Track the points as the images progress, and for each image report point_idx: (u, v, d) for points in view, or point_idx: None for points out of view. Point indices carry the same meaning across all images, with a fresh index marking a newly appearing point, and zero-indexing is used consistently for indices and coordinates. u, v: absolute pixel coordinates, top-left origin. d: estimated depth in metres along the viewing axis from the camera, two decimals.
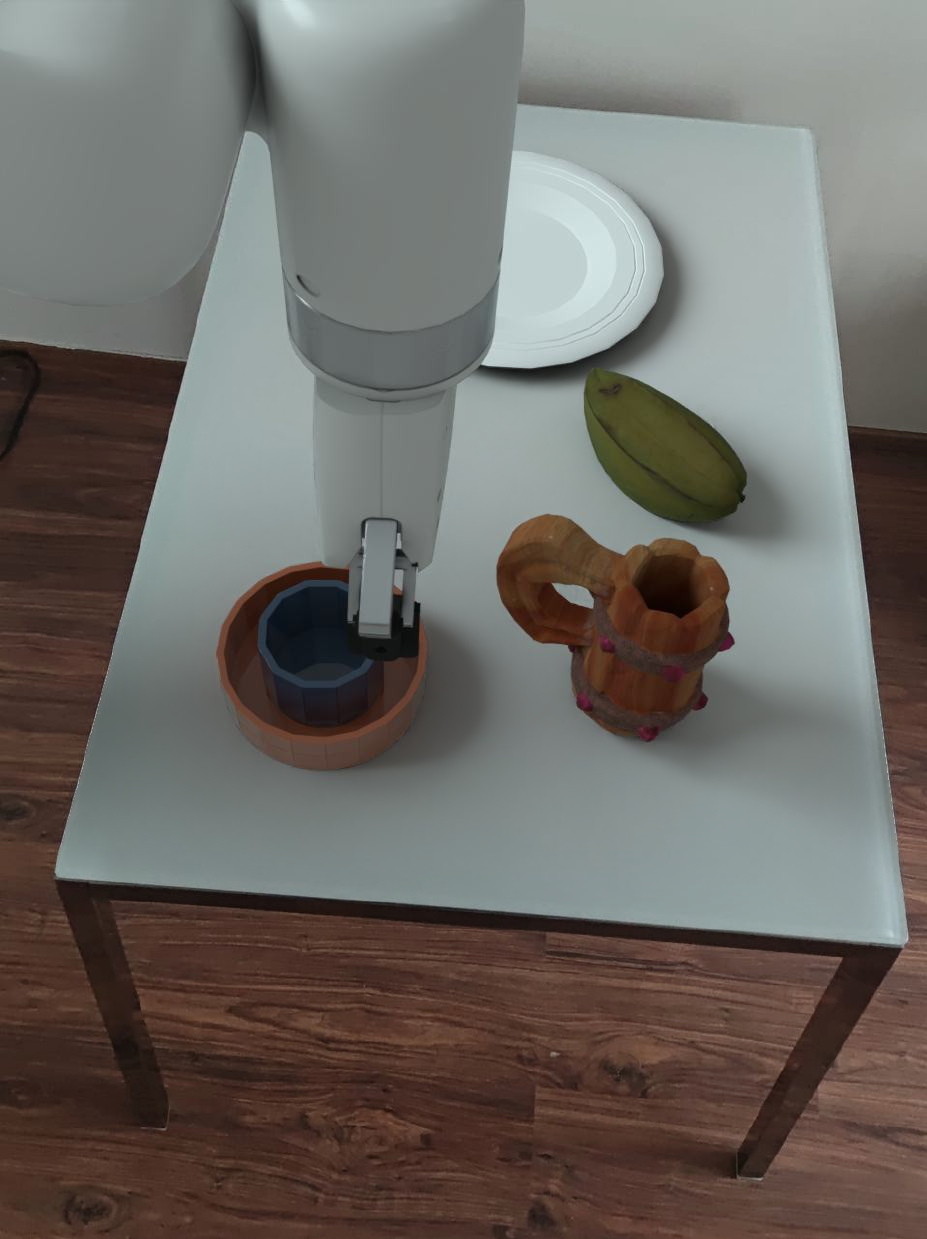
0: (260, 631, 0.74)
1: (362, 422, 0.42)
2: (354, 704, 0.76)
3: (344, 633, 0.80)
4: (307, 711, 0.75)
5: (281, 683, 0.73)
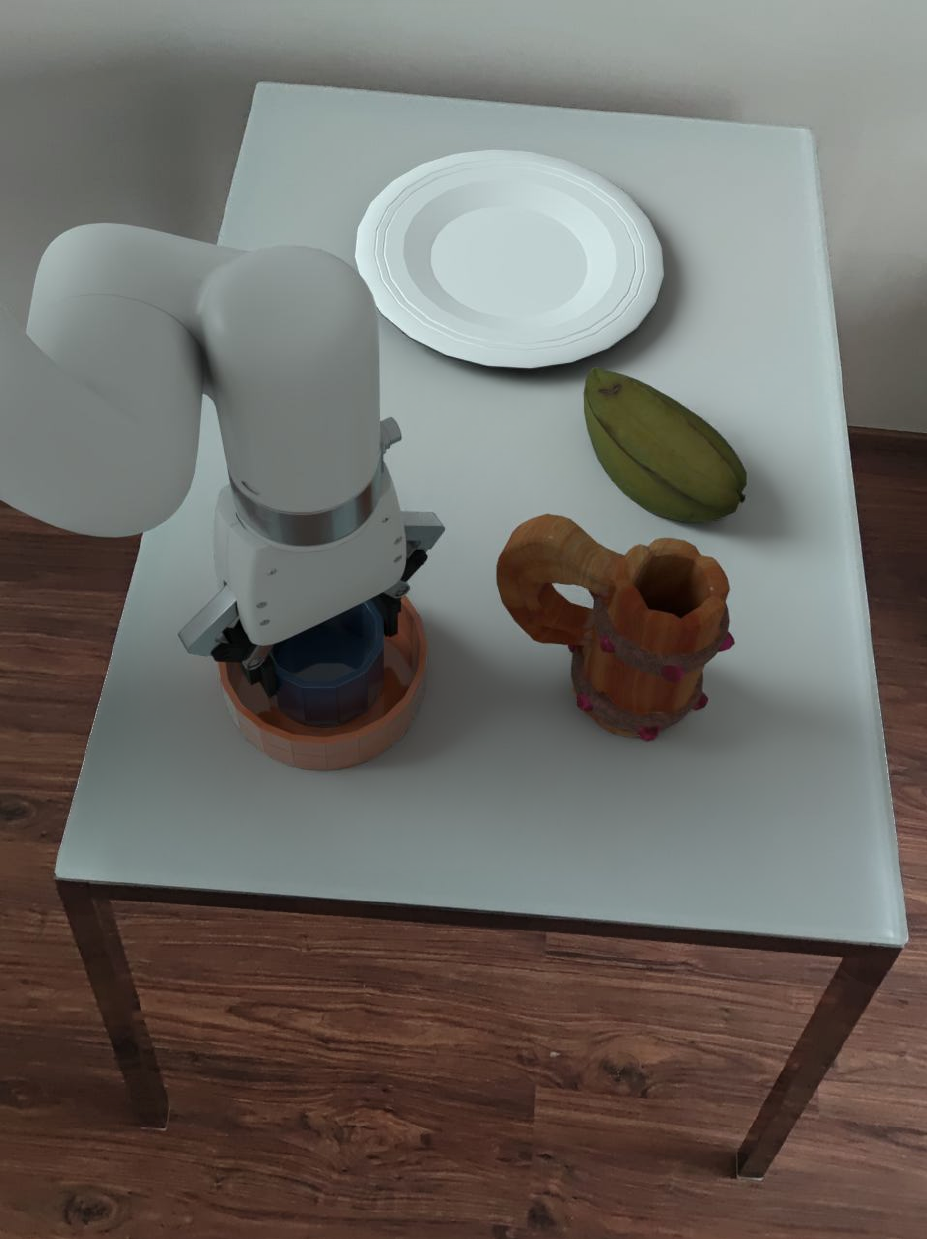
0: None
1: (221, 521, 0.61)
2: (354, 704, 0.76)
3: (344, 633, 0.80)
4: (307, 711, 0.75)
5: (281, 683, 0.73)
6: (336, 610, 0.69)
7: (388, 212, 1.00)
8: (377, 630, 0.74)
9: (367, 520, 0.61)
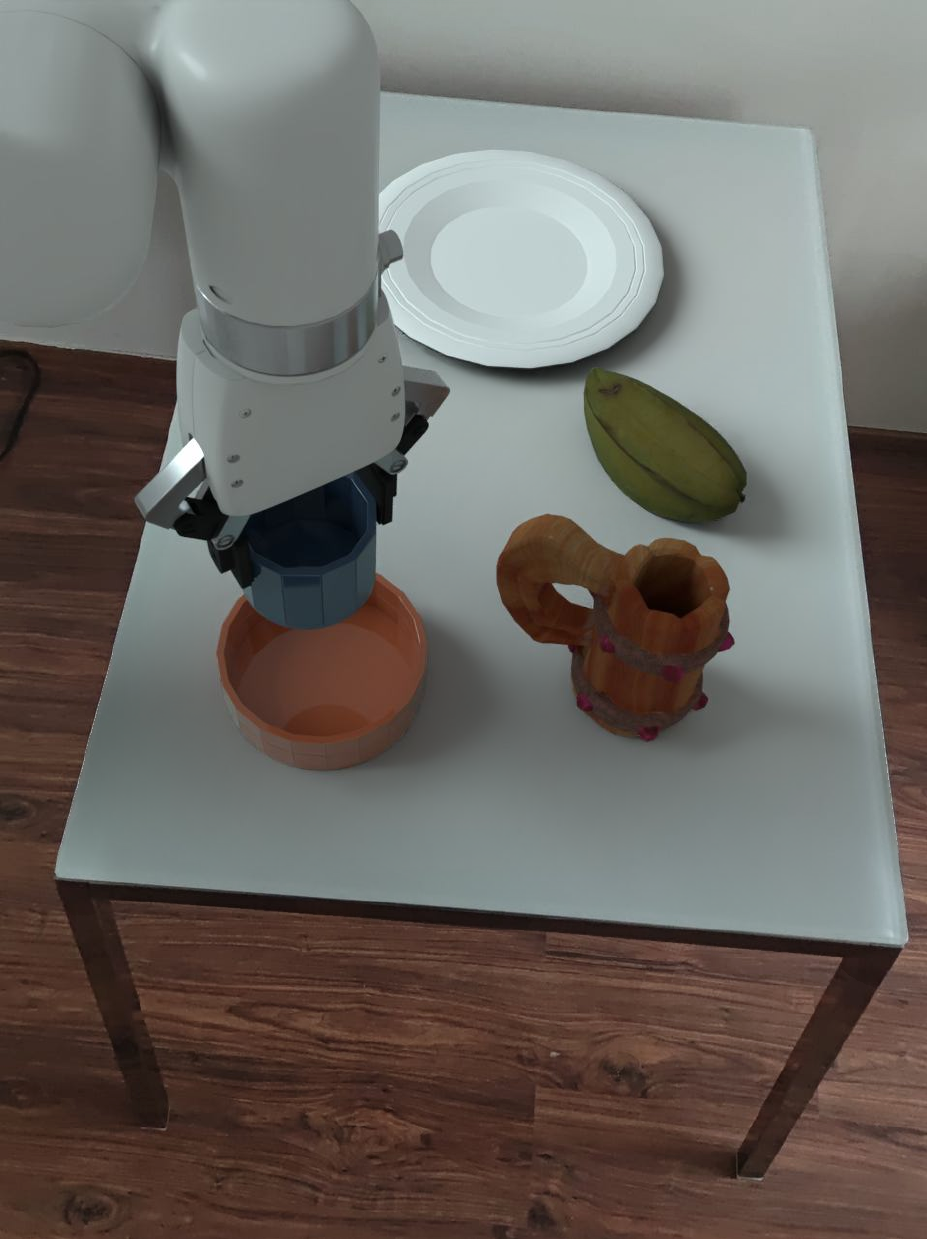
0: None
1: (185, 350, 0.51)
2: (341, 601, 0.65)
3: (330, 526, 0.70)
4: (287, 607, 0.65)
5: (257, 572, 0.63)
6: (322, 478, 0.58)
7: (388, 212, 1.00)
8: (368, 515, 0.64)
9: (362, 350, 0.51)
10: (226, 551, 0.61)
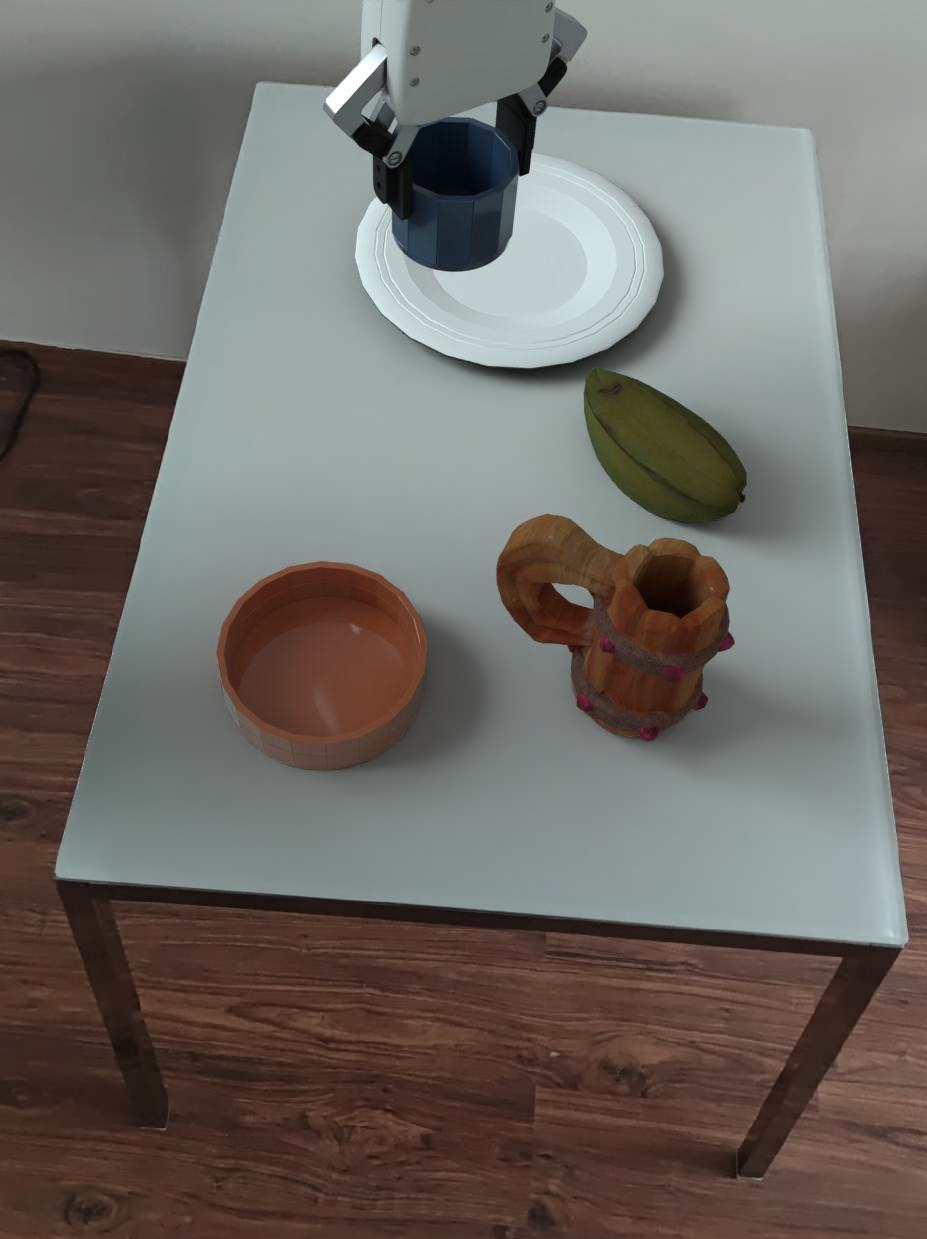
0: None
1: None
2: (486, 239, 0.74)
3: (470, 193, 0.79)
4: (439, 242, 0.74)
5: (416, 203, 0.72)
6: (481, 95, 0.67)
7: (388, 212, 1.00)
8: (511, 158, 0.73)
9: None
10: (392, 176, 0.70)
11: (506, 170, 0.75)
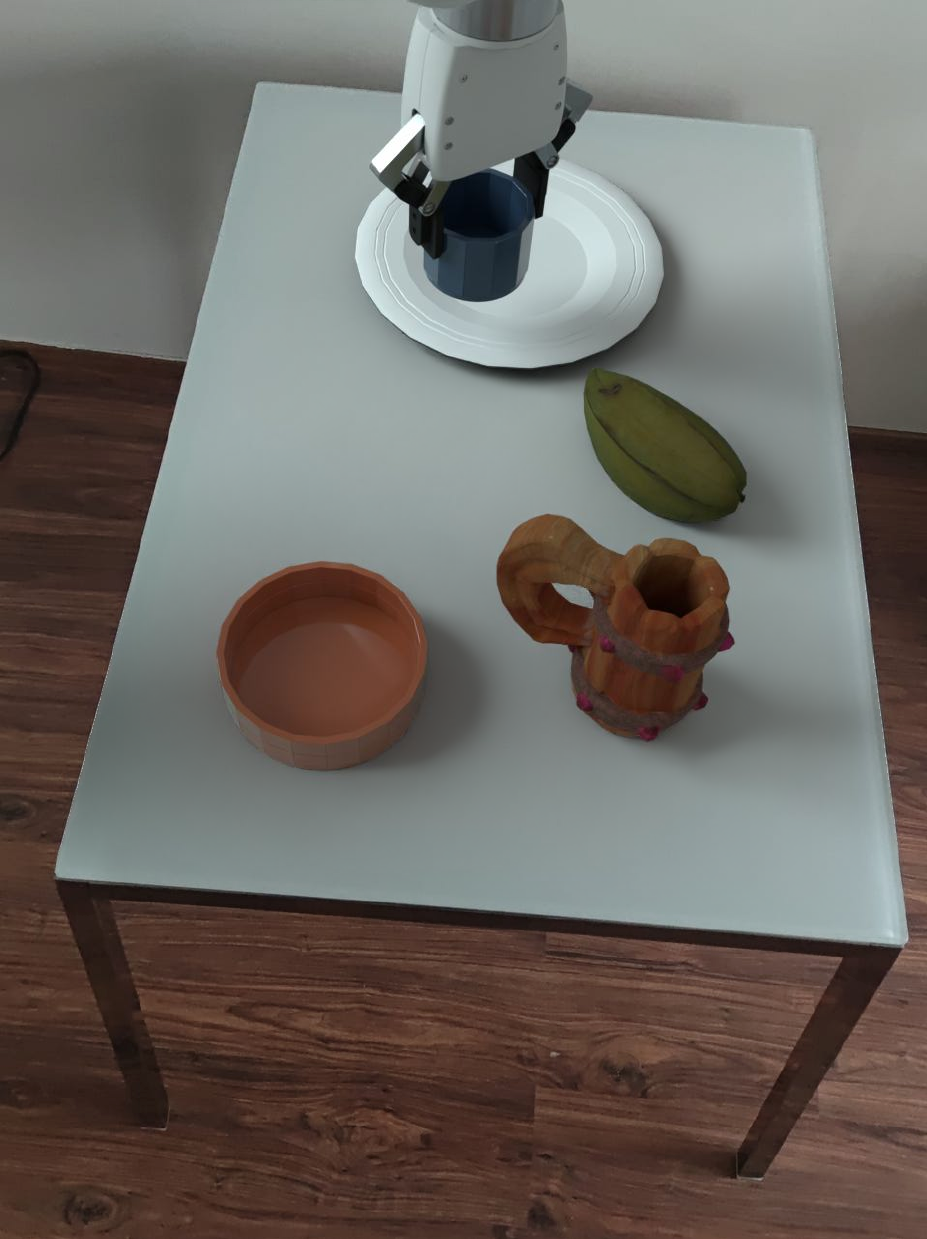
0: None
1: (421, 31, 0.71)
2: (506, 274, 0.86)
3: (490, 232, 0.90)
4: (466, 277, 0.85)
5: (446, 244, 0.83)
6: (503, 154, 0.79)
7: (388, 212, 1.00)
8: (528, 204, 0.84)
9: (548, 27, 0.71)
10: (426, 222, 0.82)
11: (523, 213, 0.86)
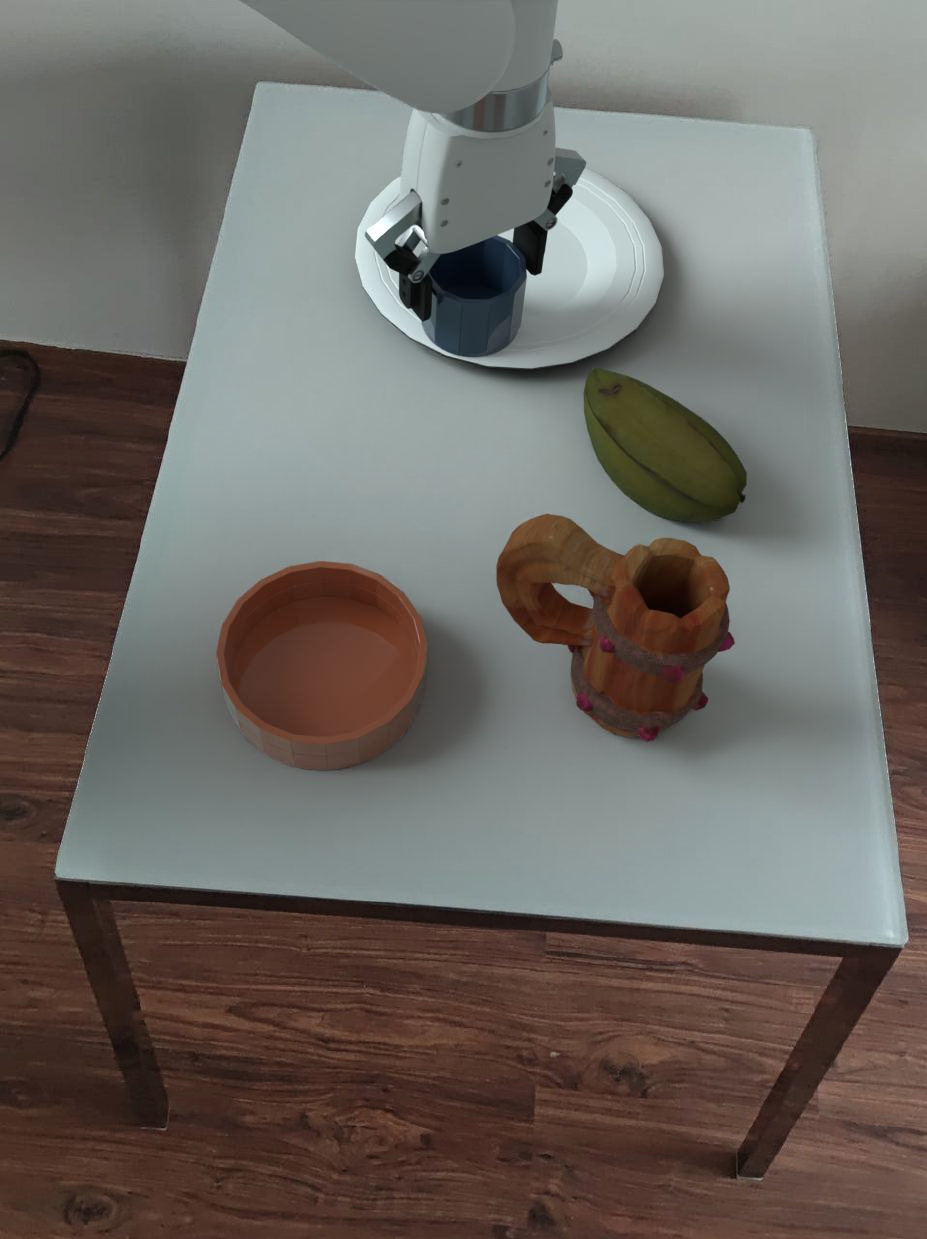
0: None
1: (419, 120, 0.76)
2: (500, 331, 0.90)
3: (484, 289, 0.95)
4: (462, 335, 0.90)
5: (443, 304, 0.88)
6: (496, 228, 0.84)
7: None
8: (520, 266, 0.89)
9: (537, 117, 0.76)
10: (415, 288, 0.86)
11: (515, 274, 0.91)
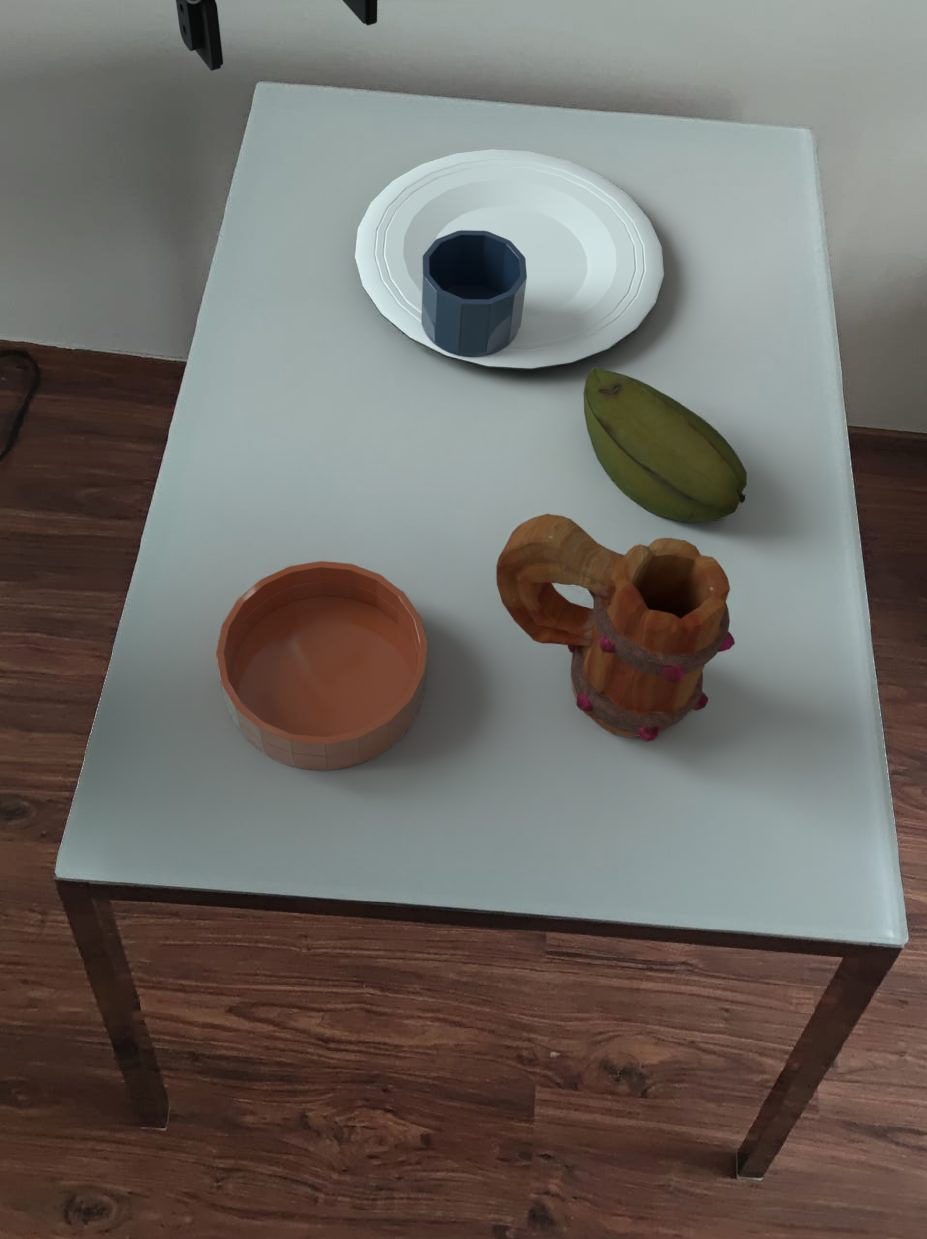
0: (424, 264, 0.89)
1: None
2: (500, 331, 0.90)
3: (484, 289, 0.95)
4: (462, 335, 0.90)
5: (443, 304, 0.88)
6: None
7: (388, 212, 1.00)
8: (520, 266, 0.89)
9: None
10: (196, 16, 0.65)
11: (515, 274, 0.91)
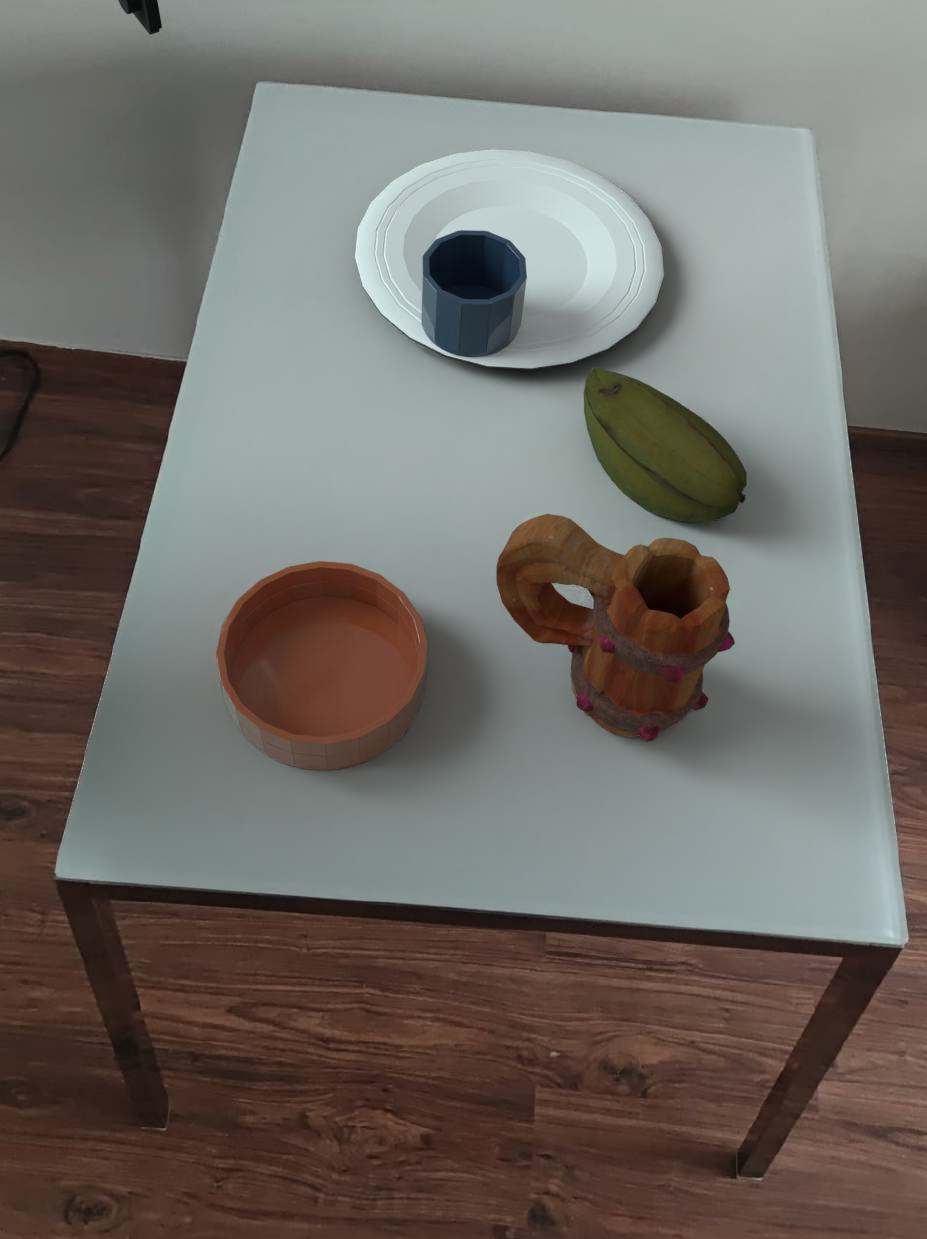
0: (424, 264, 0.89)
1: None
2: (500, 331, 0.90)
3: (484, 289, 0.95)
4: (462, 335, 0.90)
5: (443, 304, 0.88)
6: None
7: (388, 212, 1.00)
8: (520, 266, 0.89)
9: None
10: None
11: (515, 274, 0.91)
